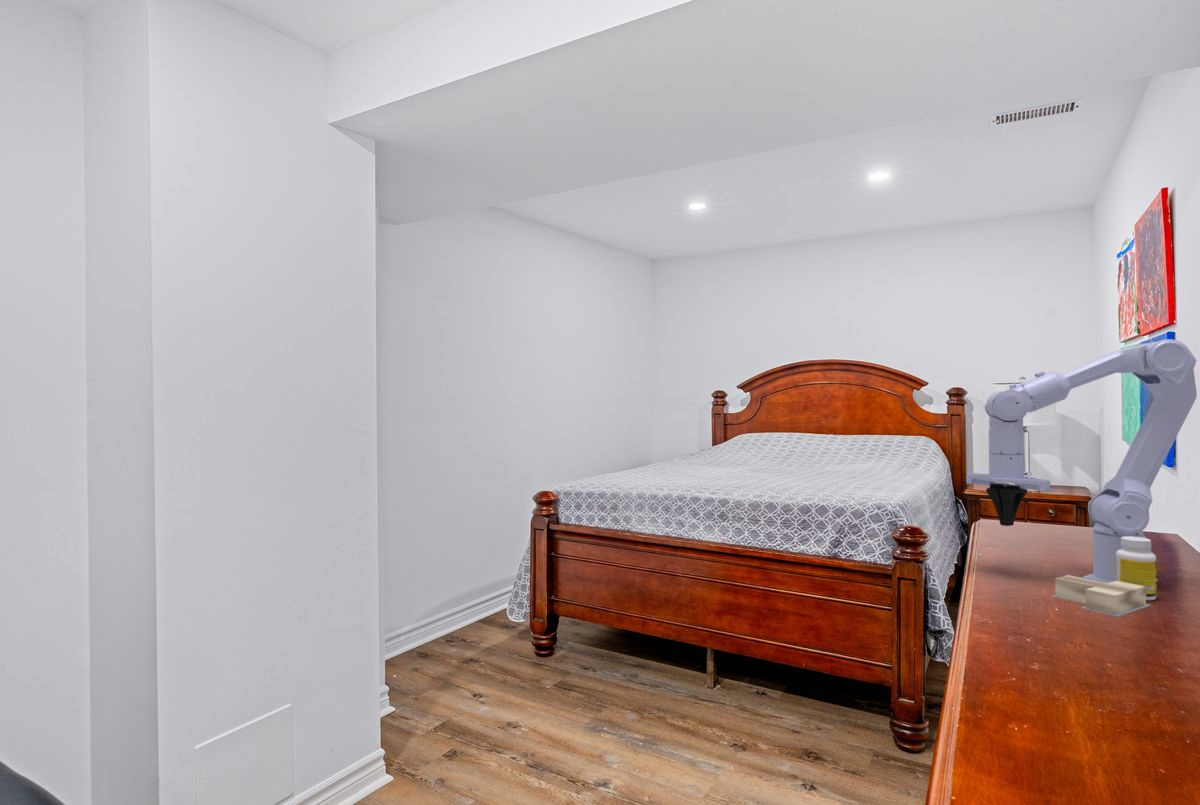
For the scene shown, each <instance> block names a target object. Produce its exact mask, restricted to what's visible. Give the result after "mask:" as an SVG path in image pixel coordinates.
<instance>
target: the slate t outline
mask: <svg viewBox="0 0 1200 805" xmlns="http://www.w3.org/2000/svg"><path fill="white" fill-rule="evenodd" d="M1050 596H1051V597H1054V598H1059V599H1063V600H1066V601H1071V602H1075V603H1080V604H1084V602H1080V601H1075V600H1071V599H1067V598H1062V597H1058V596H1055V594H1052V595H1050ZM1150 606H1152V604H1148V603H1146V605H1144V606H1141V607H1138V608H1135V609H1132V610H1129V611H1126V612H1123V613H1120V614H1117V615H1113V614H1108V613H1104V612H1100V611H1096V610H1092V609H1087V608H1086V603H1085V606H1082V607H1081V609H1084V610H1088V611H1091V612H1096V613H1100V614H1104V615H1109V616H1113V617H1117V618H1118V617H1121V616H1124V615H1127V614H1130V613H1132V612H1133V613H1134V612H1136V611H1139V610H1143V609H1144V608H1148V607H1150Z"/></svg>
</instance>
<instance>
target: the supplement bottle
mask: <svg viewBox="0 0 1200 805" xmlns="http://www.w3.org/2000/svg"><path fill="white" fill-rule="evenodd" d="M1121 546H1123V548H1122V549H1120V550H1118V551H1117V552H1116V581H1121V582H1127V583H1132V584H1137V585H1142V586H1146V601H1154V600H1156V599H1157V592H1158V591H1157V590H1158V589H1157V584H1158V583H1157V582H1156V579H1158V578H1157V556H1156V555H1155V554H1154V553H1153V552H1152V551H1151V552H1150V551H1149V549H1151V550H1152V540H1151V539H1149V538H1147V537H1146V538H1141V537H1132V536H1124V537H1121Z"/></svg>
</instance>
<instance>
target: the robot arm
mask: <svg viewBox="0 0 1200 805" xmlns="http://www.w3.org/2000/svg"><path fill="white" fill-rule="evenodd" d="M1197 360H1198V359H1197V358H1196V357H1195V355H1194V354H1193V353H1192V351H1191V350H1190V349H1189V348H1188V346H1187V345H1186V344H1185V343H1183V342H1181V341H1179V340H1177V339H1170V338H1168V339H1162V340H1159V341H1155V342H1143V343H1138V344H1135V345H1134V346H1131V347H1126V348H1122V349H1119V350H1115V351H1111V352H1109V353H1107V354H1104V355H1102V356H1100V357H1098V358H1096V359H1093V360H1091V361H1089V362H1087V363H1084V364H1082V365H1079V366H1077V367H1075V368H1073V369H1071V370H1068V371H1066V372H1064V373H1059V372H1055V371H1047V372H1045V371H1044V370H1043V371H1039V372H1036V373H1034V376H1035V377H1033V378H1030V379H1028V380H1025V381H1023V382H1020V383H1019V384H1016V383H1011V384H1010V385H1008V388H1009V389H1005V390H1000V391H995V392H993V393H992V394H991V395H990V396H989V397H988V399H987V400H986V403H985V405H984V410H985V412H986V414H987V415H988V417H989V418H988V420H989V422H988V426H989V428H988V473H977V472H975V473H974V472H970V473H966V484H970V485H971V484H974V485H975V484H976V485H984V486H985V485H986V486H989V487H987V488H985V490H986V493H987V495H988V497H989V498H990V500H991V501H992V504H993V505H994V508H995V510H996V514H997V517H998V520H999V524H1000V526H1004V527H1005V526H1006V527H1010V526H1014V523H1015V520H1016V515H1017V512H1018V510H1019V507H1020V505H1021V503H1022V501H1023V500H1024V499H1025V496H1026V495H1027V494H1028V490H1031V491H1039V492H1049V491H1051V480H1049V479H1041V478H1035V477H1026V476H1025V441H1024V440H1025V434H1024V433H1025V430H1024V417H1026V416H1027V414H1028V413H1029V414H1030V413H1033V412H1036V411H1038V410H1042V409H1043V408H1046V407H1049V406H1051V405H1054V404H1056V403H1059V402H1061V401H1064V400H1066V399H1067V397H1068V396H1069V393H1070V392H1071V390H1072V389H1075V388H1078V387H1080V386H1081V387H1082V386H1083V385H1086V384H1089V383H1091V382H1095V381H1097V380H1100V379H1102V378H1105V377H1108V376H1111V375H1113V374H1116V373H1117V374H1118V373H1119V374H1132V375H1133V376H1135V377H1136V378H1137V379H1139V380H1140V381H1141V382H1142V383H1144V384H1145V386H1146V387H1147V388H1148V390H1149V391H1150V393H1151V394H1152V396H1153V398H1154V399H1153V401H1152V403H1151V405H1150V407H1149V409H1148V411H1147V413H1146V415H1145V416H1144V418H1143V421H1142V423H1141V425H1140V427H1139V429H1138V431H1137V432H1136V435H1135V436H1134V438H1133V440H1132V443H1131V444H1130V447H1128V451H1127V452H1126V454H1125V457H1124V458H1123V460H1122V462H1121V464H1120V466H1119V468H1118V470H1117V472H1116V474H1115V475H1114V476H1113V477H1112V479H1109V481H1107V482H1106V483H1105V485H1104V486H1103V488H1102V489H1101V490H1100V492H1099V493H1098V494H1096V495H1094V496H1093V497H1092V498H1091V499H1090V500H1089V502H1088V507H1087V511H1088V514H1089V517H1090V518H1091V520H1093V521H1094V522H1095V524H1094V526H1093V527H1092V550H1093V552H1092V556H1093V557H1092V558H1093V563H1092V565H1093V566H1092V567H1093V571H1092V573H1090V574H1087V575H1083V576H1082V578H1085V579H1090V580H1095V581H1100V582H1105V583H1110V582H1114V581H1116V552H1117V551H1118V550H1120V549H1122V548H1123V546H1121V537H1124V536H1132V537H1141V538H1147V537H1146V536H1145V535H1144V530H1145V529H1146V528H1147V526H1148V525H1149V522H1150V507H1151V505H1152V502H1153V496H1152V492H1151V487H1152V485H1153V483H1154V481H1155V480H1156V477H1157V475H1158V473H1159V472H1160V470H1161V468H1162V466H1163V463H1164V462H1165V460H1166V458H1167V456H1168V454H1169V452H1170V450H1171V448H1172V447H1173V444H1174V443H1175V441H1176V438H1177V437H1178V434H1179V432H1181V429H1182V426H1183V425H1184V423H1185V421H1186V419H1187V417H1188V415H1189V413H1190V411H1191V410H1192V407H1193V405H1194V404H1195V401H1196V400H1197V396H1198V395H1197V384H1196V378H1195V366H1196V363H1197ZM1149 551H1150V552H1151V553H1152V548H1151V549H1149ZM1157 582H1158V578H1157V579H1156V583H1157Z"/></svg>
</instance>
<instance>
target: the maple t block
mask: <svg viewBox="0 0 1200 805" xmlns="http://www.w3.org/2000/svg"><path fill="white" fill-rule="evenodd" d="M1054 579H1055V580H1054V584H1055V586H1054V588H1055V589H1054V590H1055V591H1054V592H1055V596H1058V597H1062V598H1067V599H1071V600H1075V601H1080V602H1084V603H1086V604H1085V606H1086V608H1087V609H1092V610H1096V611H1100V612H1104V613H1108V614H1113V615H1117V614H1120V613H1123V612H1126V611H1129V610H1132V609H1135V608H1138V607H1141V606H1144V605H1146V604H1147V600H1146V586H1142V585H1137V584H1132V583H1127V582H1121V581H1114V582H1110V583H1105V582H1100V581H1095V580H1090V579H1085V578H1083V577H1080V576H1074V575H1070V574H1067V575H1063V576H1059V577H1055V578H1054ZM1058 597H1057V598H1058ZM1062 598H1061V599H1062ZM1067 599H1066V600H1067ZM1071 600H1070V601H1071ZM1075 601H1074V602H1075ZM1084 603H1083V604H1084ZM1087 609H1086V610H1087ZM1100 612H1099V613H1100ZM1104 613H1103V614H1104ZM1108 614H1107V615H1108Z"/></svg>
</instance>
